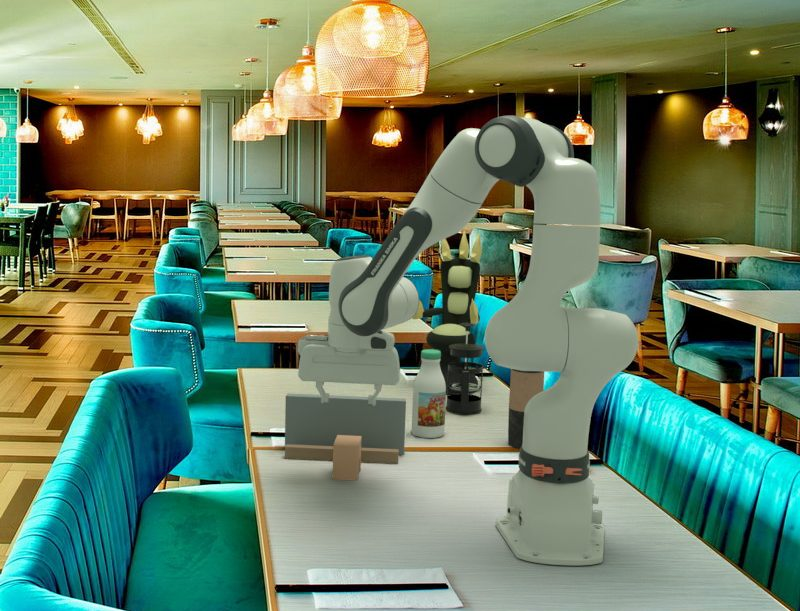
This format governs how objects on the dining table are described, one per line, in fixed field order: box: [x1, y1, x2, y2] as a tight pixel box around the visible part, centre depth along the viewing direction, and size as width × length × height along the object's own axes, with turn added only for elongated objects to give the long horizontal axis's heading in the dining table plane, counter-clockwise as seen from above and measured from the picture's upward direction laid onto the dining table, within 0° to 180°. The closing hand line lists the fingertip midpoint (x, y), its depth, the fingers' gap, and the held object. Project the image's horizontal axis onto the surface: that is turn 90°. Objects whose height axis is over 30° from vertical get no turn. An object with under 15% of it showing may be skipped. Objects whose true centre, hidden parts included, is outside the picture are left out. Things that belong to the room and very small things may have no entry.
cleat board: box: [284, 393, 407, 464], centre depth 195 cm, size 8×26×12 cm, turn 88°
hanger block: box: [332, 435, 362, 481], centre depth 183 cm, size 7×5×7 cm
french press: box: [445, 323, 485, 416], centre depth 235 cm, size 12×9×23 cm
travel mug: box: [507, 369, 545, 449], centre depth 207 cm, size 8×8×20 cm
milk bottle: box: [411, 348, 447, 439], centre depth 212 cm, size 8×8×20 cm
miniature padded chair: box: [411, 229, 483, 395], centre depth 259 cm, size 19×22×45 cm
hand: (348, 403), depth 182 cm, fingers open, 8 cm apart
